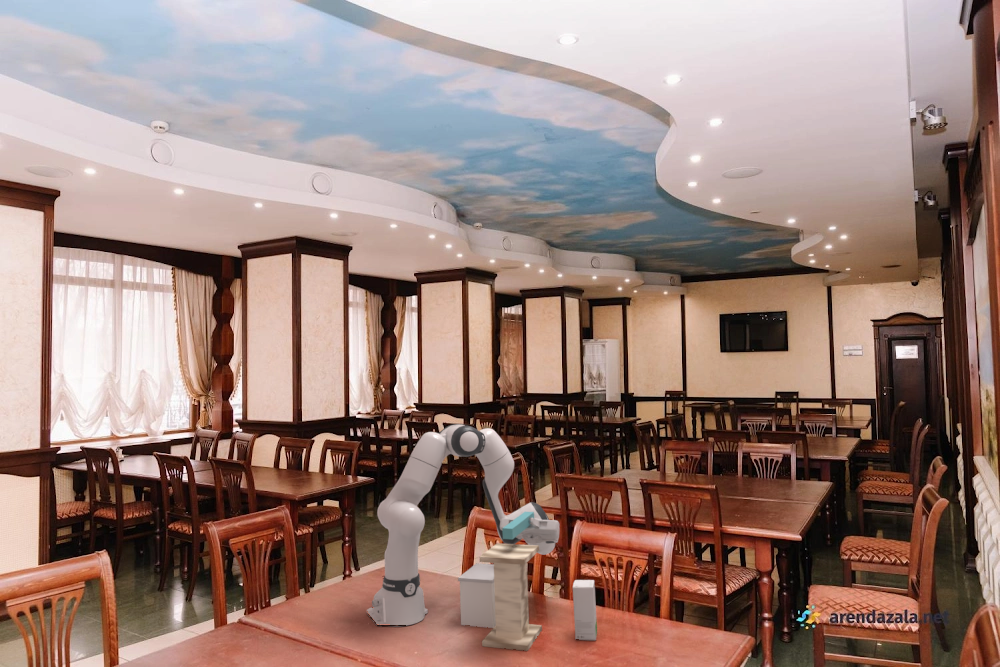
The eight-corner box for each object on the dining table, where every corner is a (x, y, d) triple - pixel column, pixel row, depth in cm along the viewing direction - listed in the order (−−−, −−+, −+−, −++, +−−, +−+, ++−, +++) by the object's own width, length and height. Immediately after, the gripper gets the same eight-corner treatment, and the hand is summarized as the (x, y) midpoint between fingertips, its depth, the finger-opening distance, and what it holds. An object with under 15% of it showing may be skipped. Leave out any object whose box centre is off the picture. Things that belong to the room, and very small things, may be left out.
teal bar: (525, 521, 225) (524, 511, 225) (534, 521, 224) (534, 512, 224) (502, 538, 202) (502, 528, 202) (512, 539, 201) (512, 528, 201)
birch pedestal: (499, 626, 211) (496, 543, 213) (542, 630, 207) (538, 545, 208) (482, 646, 196) (479, 556, 198) (527, 650, 192) (524, 559, 193)
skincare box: (595, 641, 197) (593, 587, 198) (573, 640, 198) (571, 587, 199) (597, 630, 205) (595, 579, 206) (576, 629, 206) (574, 578, 207)
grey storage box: (477, 607, 229) (476, 563, 230) (510, 610, 225) (508, 565, 226) (459, 625, 213) (458, 577, 214) (493, 628, 209) (492, 580, 210)
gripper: (507, 522, 234) (495, 509, 223) (563, 524, 227) (554, 511, 216) (505, 540, 231) (492, 528, 220) (562, 542, 224) (552, 530, 213)
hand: (523, 519), depth 218 cm, fingers closed on teal bar, 3 cm apart
